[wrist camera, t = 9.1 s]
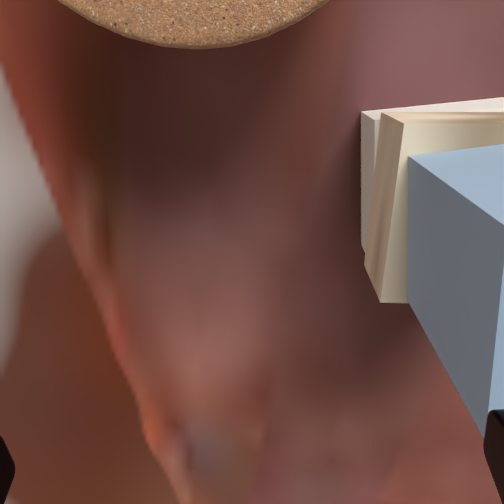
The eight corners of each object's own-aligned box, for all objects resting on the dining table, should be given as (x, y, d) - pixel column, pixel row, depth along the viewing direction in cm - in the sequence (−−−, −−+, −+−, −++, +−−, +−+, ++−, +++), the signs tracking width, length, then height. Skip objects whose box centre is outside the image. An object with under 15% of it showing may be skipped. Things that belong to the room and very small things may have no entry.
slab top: (556, 111, 15) (618, 123, 12) (514, 267, 17) (558, 306, 15) (381, 111, 15) (404, 123, 13) (363, 264, 18) (380, 302, 15)
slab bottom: (509, 95, 18) (552, 102, 15) (491, 232, 20) (525, 259, 17) (359, 110, 18) (374, 120, 15) (360, 242, 21) (373, 270, 18)
